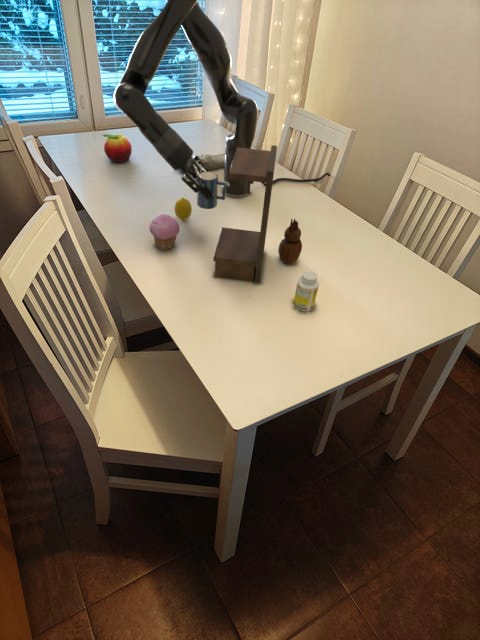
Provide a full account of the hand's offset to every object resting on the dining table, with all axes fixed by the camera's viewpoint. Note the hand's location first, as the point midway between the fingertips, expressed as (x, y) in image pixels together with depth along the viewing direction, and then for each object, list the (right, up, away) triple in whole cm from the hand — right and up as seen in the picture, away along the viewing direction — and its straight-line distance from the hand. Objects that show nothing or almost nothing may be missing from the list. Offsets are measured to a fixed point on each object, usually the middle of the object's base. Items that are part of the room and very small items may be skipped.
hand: (213, 192), depth 130 cm
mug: (-1, -3, +3) cm, 4 cm away
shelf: (+7, -21, +1) cm, 22 cm away
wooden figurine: (+23, -20, +4) cm, 30 cm away
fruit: (-41, +27, +49) cm, 69 cm away
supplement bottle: (+25, -34, -11) cm, 44 cm away
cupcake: (-15, -15, +5) cm, 22 cm away
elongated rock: (-2, +26, +51) cm, 57 cm away
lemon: (-11, -4, +17) cm, 21 cm away
